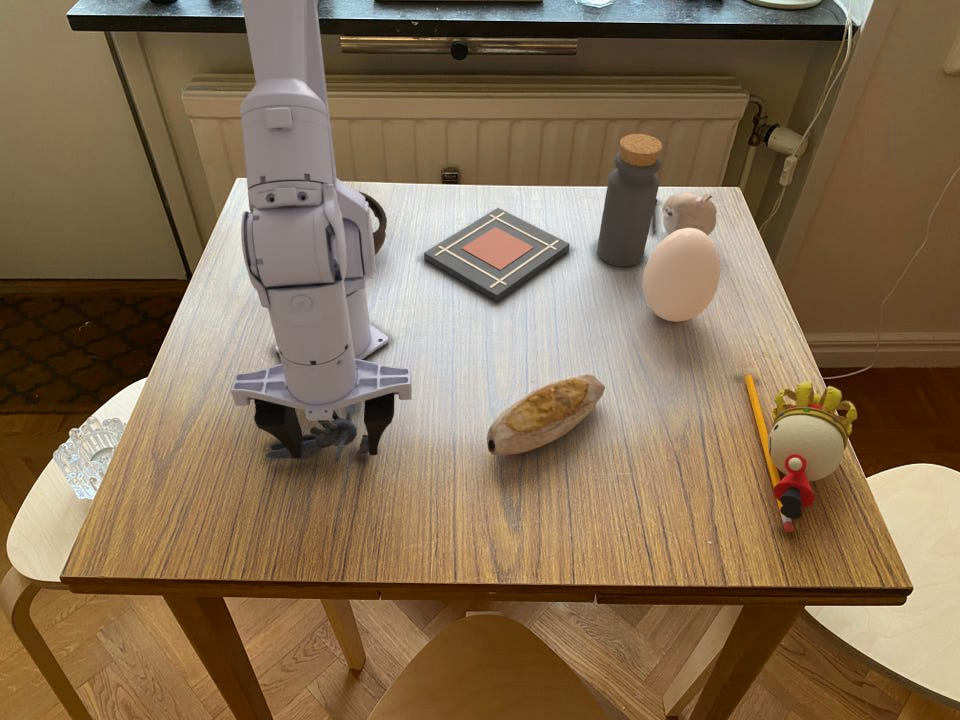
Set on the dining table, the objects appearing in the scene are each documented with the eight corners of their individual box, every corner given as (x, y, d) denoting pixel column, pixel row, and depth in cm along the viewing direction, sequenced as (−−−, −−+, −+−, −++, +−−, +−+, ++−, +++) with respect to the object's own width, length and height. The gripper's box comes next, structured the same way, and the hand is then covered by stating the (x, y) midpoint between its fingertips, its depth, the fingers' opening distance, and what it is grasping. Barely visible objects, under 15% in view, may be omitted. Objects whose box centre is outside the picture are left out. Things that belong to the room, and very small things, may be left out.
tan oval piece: (616, 412, 70) (623, 382, 67) (503, 480, 64) (505, 450, 61) (581, 381, 73) (586, 351, 70) (470, 443, 67) (470, 413, 64)
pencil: (783, 532, 61) (785, 527, 60) (743, 379, 74) (745, 374, 73) (792, 532, 61) (795, 528, 60) (751, 379, 74) (753, 375, 73)
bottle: (652, 261, 88) (678, 151, 78) (610, 271, 87) (631, 160, 76) (628, 235, 92) (650, 127, 82) (588, 244, 91) (605, 135, 80)
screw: (654, 203, 98) (648, 200, 98) (658, 198, 98) (652, 195, 98) (654, 237, 93) (648, 233, 93) (659, 231, 92) (653, 228, 92)
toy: (747, 523, 63) (778, 406, 72) (837, 544, 60) (857, 418, 69) (748, 472, 59) (780, 354, 68) (845, 491, 55) (865, 364, 64)
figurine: (239, 461, 59) (262, 512, 61) (349, 434, 58) (368, 486, 60) (272, 400, 70) (290, 444, 72) (365, 376, 69) (381, 422, 71)
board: (496, 302, 82) (497, 294, 81) (423, 259, 88) (423, 251, 87) (569, 250, 90) (570, 243, 89) (497, 213, 95) (498, 206, 94)
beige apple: (658, 246, 90) (671, 192, 85) (657, 219, 95) (670, 165, 89) (710, 252, 90) (727, 197, 84) (707, 224, 94) (723, 170, 88)
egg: (701, 345, 78) (730, 262, 70) (629, 329, 79) (649, 245, 71) (709, 301, 83) (736, 219, 75) (641, 286, 85) (660, 204, 77)
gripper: (209, 380, 52) (248, 488, 61) (407, 373, 53) (415, 480, 62) (227, 316, 57) (260, 425, 66) (408, 311, 58) (415, 419, 67)
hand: (335, 448), depth 65 cm, fingers closed on figurine, 6 cm apart
